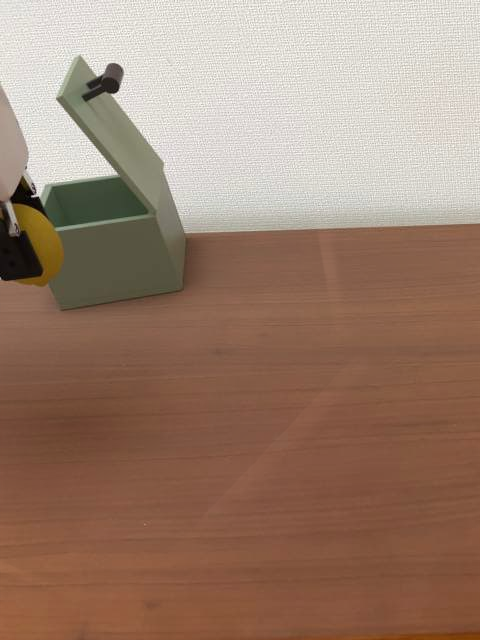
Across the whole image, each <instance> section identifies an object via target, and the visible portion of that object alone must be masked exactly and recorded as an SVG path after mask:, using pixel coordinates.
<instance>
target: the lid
mask: <svg viewBox="0 0 480 640" xmlns="http://www.w3.org/2000/svg"><path fill="white" fill-rule="evenodd" d="M124 74H125V70H124V68H123V67H122V66H121V65H120V64H119V63H116V62H109V63H108V64H107V65H106V67H105V70H104V71H103V73H102V74H100V75H98V76H97V75H96V73H95V72H94V71H93V69H92V68H91V67H90V65H89V64H88V63H87V61H86V60H85V59H84V58H83V57H82V55H81V54H79V55H77V56H74V57H73V59H72V61H71V63H70V66H69V68H68V70H67V72H66V74H65V77H64V79H63V81H62V84H61V85H60V87H59V90H58V92H57V94H56V96H55V100H56V102H57V103H58V104H59V105H60V106H61V108H63V110H64V111H65V112H66V114H67V115H68V116H69V117H70V118H71V120H72V121H73V122H74V123H75V124H76V125H77V127H78V128H79V129H80V130H81V131H82V133H83V134H84V135H85V136H86V138H87V139H88V140H89V141H90V143H91V144H92V145H93V146H94V148H96V149H97V151H98V152H99V154H101V155H102V157H103V158H104V159H105V161H107V163H108V164H109V165H110V166H111V167H112V169H113V170H114V171H115V172H116V174H118V175H119V176H120V177H121V178H122V180H123V181H124V182H125V183H126V184H127V186H128V187H129V188H130V189H131V190H132V192H133V193H134V194H135V195H136V196H137V198H138V199H139V200H140V201H141V202H142V204H143V205H144V206H145V207H146V208H147V210H148V211H149V212H150V213H151V214H152V213H154V212H156V211H157V209H158V202H159V195H160V188H161V182H162V175H163V170H164V167H165V162H164V161H163V159H162V158H161V157H160V156H159V154H158V153H157V152H156V151H155V149H154V148H153V147H152V145H151V144H150V143H149V141H148V140H147V139H146V137H145V136H144V135H143V133H142V132H141V131H140V130H139V129H138V127H137V126H136V125H135V123H134V122H133V121H132V120H131V118H130V117H129V115H128V114H127V113H126V112H125V110H123V108H122V107H121V106H120V104H119V103H118V102H117V100H116V99H115V98H114V96H113V95H116V94H117V93H118V92H119V91H120V90H121V85H122V81H123V79H124V76H125V75H124Z"/></svg>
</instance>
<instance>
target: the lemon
mask: <svg viewBox="0 0 480 640" xmlns="http://www.w3.org/2000/svg"><path fill="white" fill-rule="evenodd" d="M11 204H12V203H11ZM12 207H13V210H14V213H15V216H16V219H17V222H18V225H19V229H20V231H24V230H26V232H27V234H28V237H29V239H30V241H31V243H32V245H33V248H34V250H35V252H36V254H37V256H38V259H39V261H40V263H41V265H42V267H43V274H42V276H40V277H34V278H26V279H19V280H12V281H13V282H15V283H18V284H20V285H28V286H36V287H39V288H44V287H46V286H47V285H48V282H49V280H51V279H52V278H53V277H55V276H56V275H57V273H58V272H59V271H60V269H61V267H62V264H63V260H64V252H63V246H62V242H61V239H60V237H59V235H58V233H57V231H56V229H55V228H54V227H53V225H52V224H51V223H50V221H49V220H48V219H47V218H46V217H45V216H44V215H43V214H42V213H41V212H39V211H38V210H36V209H34V208H32V207H29V206H26V205H22V204H12ZM0 217H1V218H2V219H3V216H2V213H1V210H0Z"/></svg>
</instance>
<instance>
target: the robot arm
mask: <svg viewBox="0 0 480 640" xmlns="http://www.w3.org/2000/svg"><path fill="white" fill-rule="evenodd" d="M29 158H30V152H29V147H28V144H27V142H26V139H25V135H24V133H23V131H22V128H21V126H20V122H19V121H18V119H17V116H16V114H15V111H14V109H13V107H12V105H11V103H10V101H9V99H8V96H7V93H6V92H5V90H4V88H3V85H2V83H1V82H0V210H1V213H2V216H3V219H2V218H1V217H0V280H2V281H4V282H11V281H12V280H19V279H26V278H34V277H40V276H42V274H43V267H42V265H41V263H40V261H39V259H38V256H37V254H36V252H35V250H34V248H33V245H32V243H31V241H30V239H29V237H28V234H27V232H26V230H24V231H20V229H19V225H18V222H17V219H16V216H15V213H14V210H13V207H12V204H22V205H26V206H29V207H32V208H34V209H36V210H38V211H39V212H41V213H42V214H43V215H44V216H45V217H46V218H47V219H48V220H49V218H48V216H47V214H46V211H45V209H44V207H43V204H42V202H41V200H40V197H41V196H39V195H38V191H37V187H36V184H35V182H34V180H33V179H32V177H31V175H30V174H29V172H28V171H27V169H28V162H29ZM11 203H12V204H11Z"/></svg>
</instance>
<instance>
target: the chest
mask: <svg viewBox="0 0 480 640" xmlns="http://www.w3.org/2000/svg"><path fill="white" fill-rule="evenodd" d="M39 197H40V200H41V202H42V204H43V207H44V209H45V211H46V214H47V216H48V218H49V221H50V223H51V224H52V225H53V227H54V228H55V229H56V231H57V233H58V235H59V237H60V239H61V242H62V246H63V252H64V260H63V264H62V267H61V269H60V271H59V272H58V273H57V275H56V276H55V277H53V278H52V279H51V280H49V282H48V283H47V285H48V287H49V289H50V291H51V293H52V296H53V297H54V299H55V302H56V304H57V305H58V307H59V310H60V311H64V310H71V309H77V308H85V307H89V306H97V305H102V304H108V303H114V302H119V301H125V300H132V299H137V298H143V297H151V296H156V295H160V294H161V295H162V294H167V293H174V292H180V291H183V286H184V274H185V263H186V262H185V260H186V251H187V250H186V248H187V235H186V232H185V229H184V226H183V223H182V220H181V217H180V215H179V211H178V209H177V206H176V203H175V199H174V196H173V194H172V191H171V189H170V186H169V182H168V179H167V177H166V173H165V170H164V169H163V175H162V182H161V188H160V195H159V202H158V209H157V211H156V212H154V213H152V214H151V213H150V212H149V211H148V210H147V208H146V207H145V206H144V205H143V204H142V202H141V201H140V200H139V199H138V198H137V196H136V195H135V194H134V193H133V192H132V190H131V189H130V188H129V187H128V186H127V184H126V183H125V182H124V181H123V180H122V178H121V177H120V176H119V175H118V173H116V174H111V175H103V176H96V177H95V176H94V177H89V178H82V179H73V180H66V181H60V182H53V183H46V184H44V186H43V190H42V192H41V194H40V196H39Z"/></svg>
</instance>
